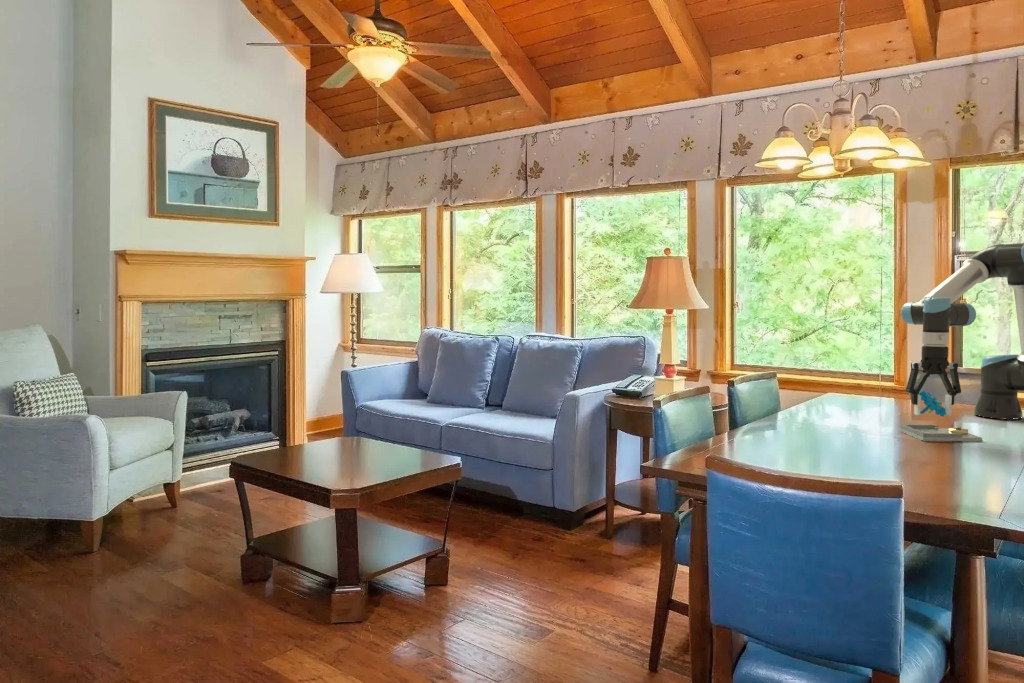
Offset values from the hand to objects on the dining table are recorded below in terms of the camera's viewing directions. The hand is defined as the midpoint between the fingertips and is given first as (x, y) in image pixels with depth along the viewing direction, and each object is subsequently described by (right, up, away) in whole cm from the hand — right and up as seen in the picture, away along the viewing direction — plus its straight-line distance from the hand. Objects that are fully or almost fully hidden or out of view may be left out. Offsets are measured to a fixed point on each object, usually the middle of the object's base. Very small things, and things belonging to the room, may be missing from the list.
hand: (932, 414), depth 246 cm
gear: (0, 0, 0) cm, 1 cm away
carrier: (+3, -7, 0) cm, 8 cm away
